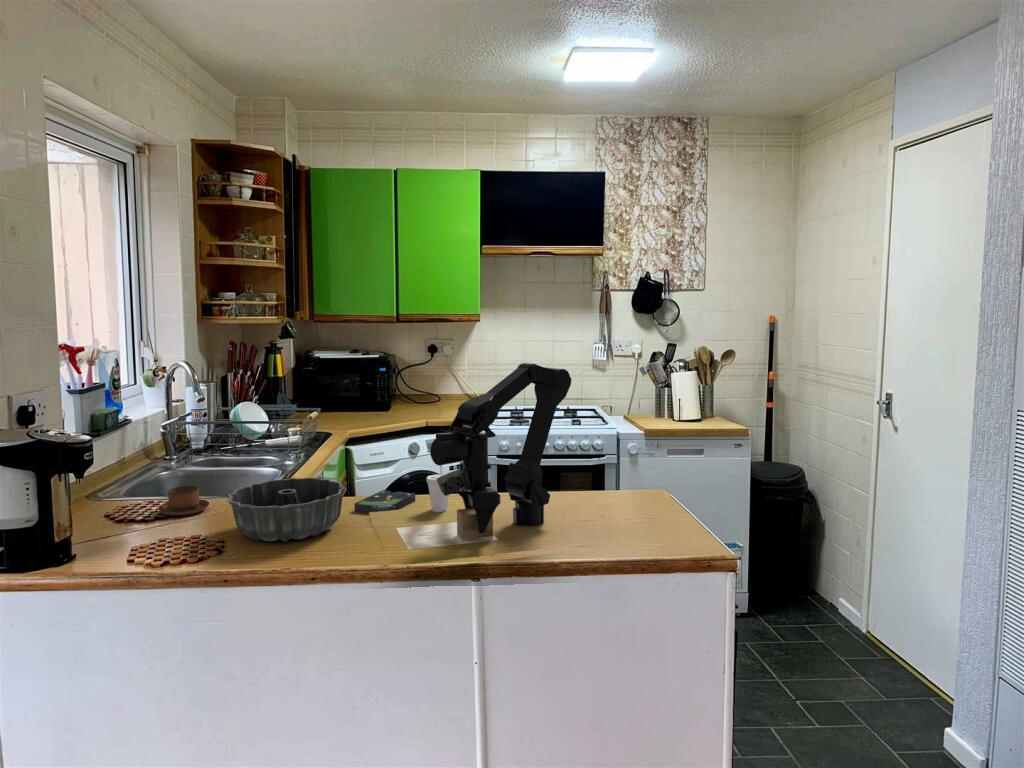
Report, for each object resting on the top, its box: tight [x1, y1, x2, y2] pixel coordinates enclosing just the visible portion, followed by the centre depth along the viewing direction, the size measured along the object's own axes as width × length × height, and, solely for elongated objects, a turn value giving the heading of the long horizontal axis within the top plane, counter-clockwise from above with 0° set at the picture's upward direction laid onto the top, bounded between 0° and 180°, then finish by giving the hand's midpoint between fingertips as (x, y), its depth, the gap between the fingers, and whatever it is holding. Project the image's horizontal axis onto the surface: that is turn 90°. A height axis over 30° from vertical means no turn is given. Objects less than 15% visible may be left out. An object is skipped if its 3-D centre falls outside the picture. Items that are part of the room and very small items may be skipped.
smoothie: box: [426, 465, 450, 513], centre depth 188 cm, size 6×6×14 cm
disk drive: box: [354, 489, 416, 514], centre depth 197 cm, size 10×3×15 cm
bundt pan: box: [227, 477, 346, 543], centre depth 175 cm, size 26×26×10 cm
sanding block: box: [456, 508, 494, 542], centre depth 166 cm, size 7×5×6 cm
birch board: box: [396, 521, 498, 551], centre depth 169 cm, size 20×16×1 cm
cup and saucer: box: [158, 485, 210, 517], centre depth 192 cm, size 12×12×6 cm
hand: (476, 526), depth 166 cm, fingers open, 9 cm apart
